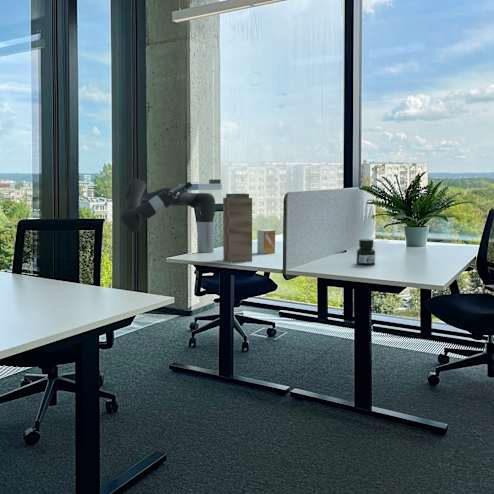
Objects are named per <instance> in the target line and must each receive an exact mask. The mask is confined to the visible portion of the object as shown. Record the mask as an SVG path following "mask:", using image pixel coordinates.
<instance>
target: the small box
mask: <svg viewBox="0 0 494 494" xmlns="http://www.w3.org/2000/svg"><path fill="white" fill-rule="evenodd" d="M256 238H257V243H256V244H257V245H256V247H257V248H256V249H257V250H256V251H257V252H256V253H257V254H261V255H269V254H276V230H275V229H258V230H257V237H256Z"/></svg>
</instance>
